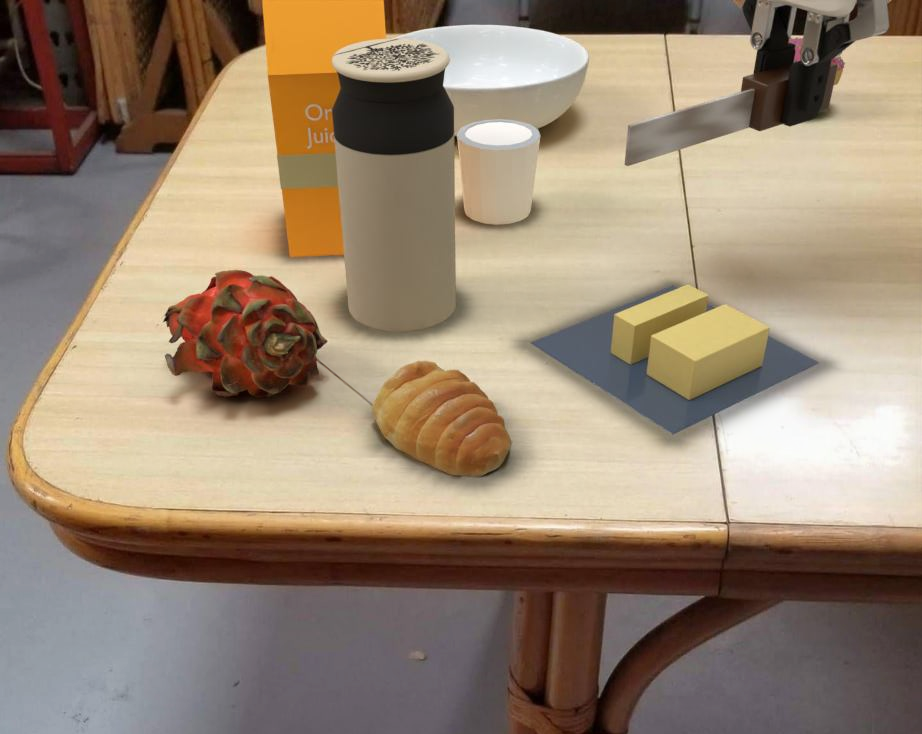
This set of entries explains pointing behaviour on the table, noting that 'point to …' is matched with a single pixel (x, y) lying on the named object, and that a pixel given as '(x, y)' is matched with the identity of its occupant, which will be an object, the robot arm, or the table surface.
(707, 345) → the butter block
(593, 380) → the butter dish
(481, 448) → the pastry
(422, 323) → the travel mug
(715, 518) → the table surface
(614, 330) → the butter slice
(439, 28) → the serving bowl
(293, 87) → the orange juice
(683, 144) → the knife
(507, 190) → the cup of milk
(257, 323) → the dragon fruit
